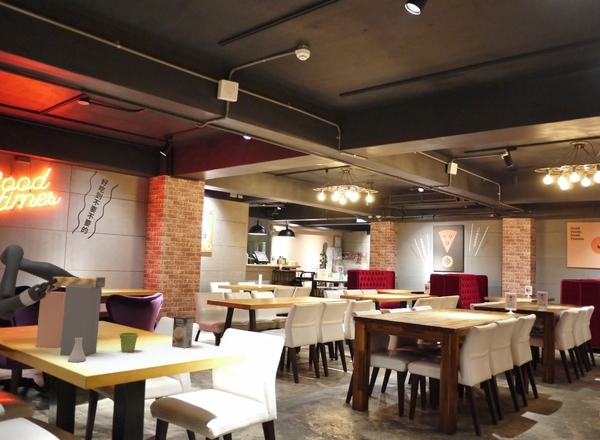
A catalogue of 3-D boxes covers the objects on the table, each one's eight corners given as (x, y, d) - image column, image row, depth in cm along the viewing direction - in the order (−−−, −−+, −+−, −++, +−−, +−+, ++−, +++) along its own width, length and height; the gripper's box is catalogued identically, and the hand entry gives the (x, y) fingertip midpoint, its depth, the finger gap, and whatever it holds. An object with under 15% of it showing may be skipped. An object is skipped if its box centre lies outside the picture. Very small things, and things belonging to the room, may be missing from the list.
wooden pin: (51, 285, 235) (52, 275, 235) (57, 284, 240) (58, 275, 241) (99, 287, 233) (100, 277, 234) (104, 287, 238) (105, 277, 239)
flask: (78, 363, 213) (80, 339, 214) (64, 361, 215) (66, 338, 215) (89, 360, 220) (90, 337, 221) (74, 358, 222) (76, 336, 223)
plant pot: (135, 353, 241) (137, 335, 242) (116, 352, 240) (117, 335, 240) (139, 349, 250) (140, 332, 251) (119, 349, 249) (121, 332, 250)
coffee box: (171, 346, 264) (173, 316, 265) (178, 345, 270) (180, 315, 271) (184, 348, 260) (186, 318, 262) (192, 346, 266) (194, 317, 267)
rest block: (36, 346, 247) (41, 292, 250) (47, 343, 257) (52, 291, 260) (58, 347, 246) (63, 293, 249) (69, 344, 256) (73, 292, 259)
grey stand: (60, 355, 228) (66, 283, 232) (72, 351, 239) (78, 283, 242) (84, 356, 228) (90, 285, 231) (96, 352, 238) (101, 284, 242)
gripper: (20, 288, 231) (50, 272, 231) (38, 287, 245) (66, 272, 245) (26, 302, 230) (56, 287, 230) (44, 300, 245) (72, 285, 244)
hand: (61, 279), depth 238 cm, fingers open, 8 cm apart
